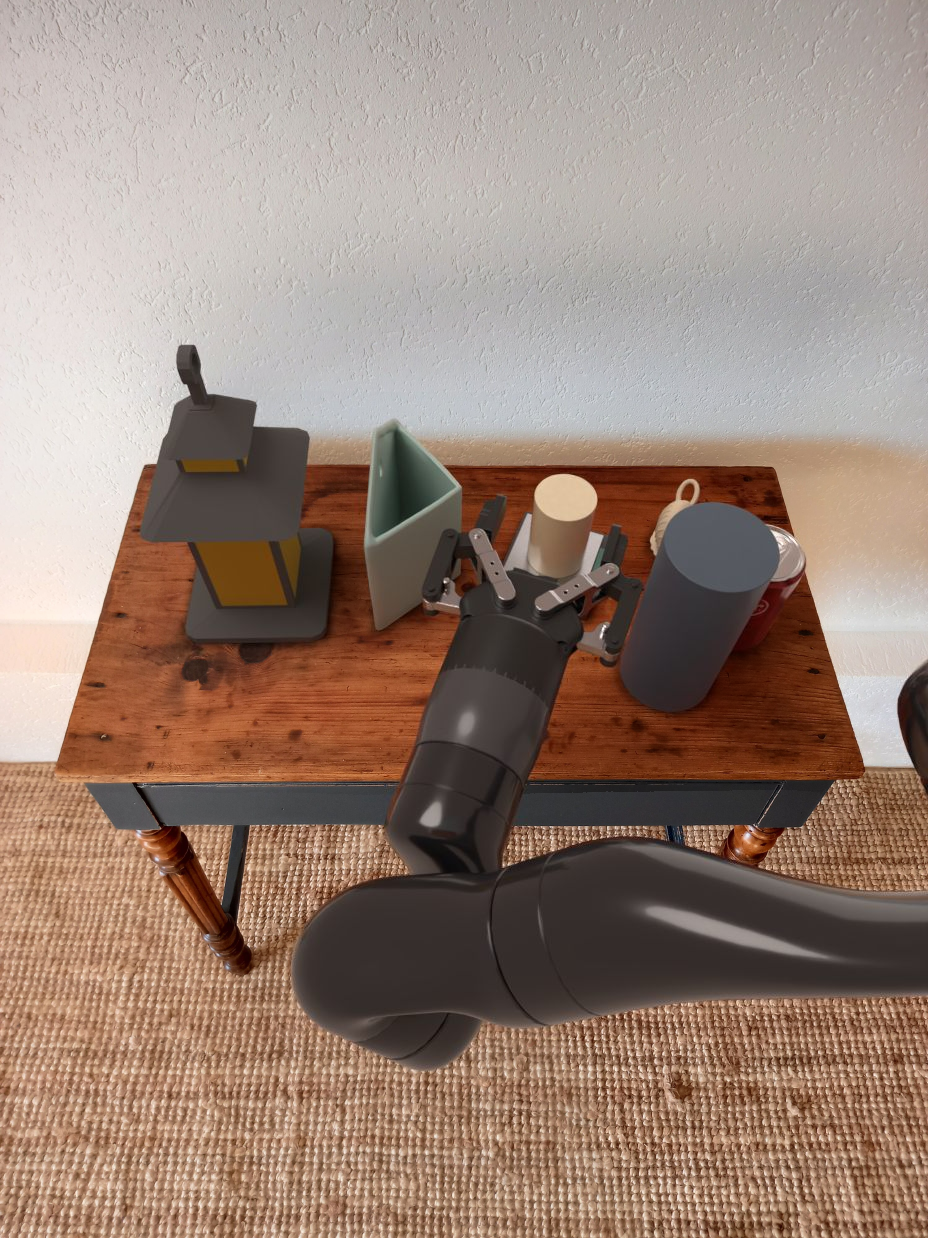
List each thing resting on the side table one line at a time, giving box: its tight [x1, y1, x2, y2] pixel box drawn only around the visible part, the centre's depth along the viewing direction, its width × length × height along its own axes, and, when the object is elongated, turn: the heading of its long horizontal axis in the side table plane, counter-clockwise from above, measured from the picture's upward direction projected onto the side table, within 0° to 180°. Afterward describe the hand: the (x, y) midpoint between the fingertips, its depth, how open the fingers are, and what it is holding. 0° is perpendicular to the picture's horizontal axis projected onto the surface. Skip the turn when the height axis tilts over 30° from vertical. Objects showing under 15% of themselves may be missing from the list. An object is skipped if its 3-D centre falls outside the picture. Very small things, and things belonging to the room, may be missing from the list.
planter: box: [363, 418, 463, 631], centre depth 78 cm, size 16×8×20 cm, turn 174°
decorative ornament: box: [649, 478, 701, 557], centre depth 87 cm, size 4×8×5 cm, turn 147°
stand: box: [619, 501, 780, 713], centre depth 71 cm, size 9×9×20 cm
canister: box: [527, 473, 598, 578], centre depth 80 cm, size 6×6×9 cm
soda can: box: [731, 524, 807, 651], centre depth 78 cm, size 7×7×12 cm
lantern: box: [139, 344, 335, 645], centre depth 72 cm, size 14×14×30 cm
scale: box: [502, 510, 609, 621], centre depth 85 cm, size 10×10×3 cm
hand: (557, 516), depth 58 cm, fingers open, 8 cm apart
